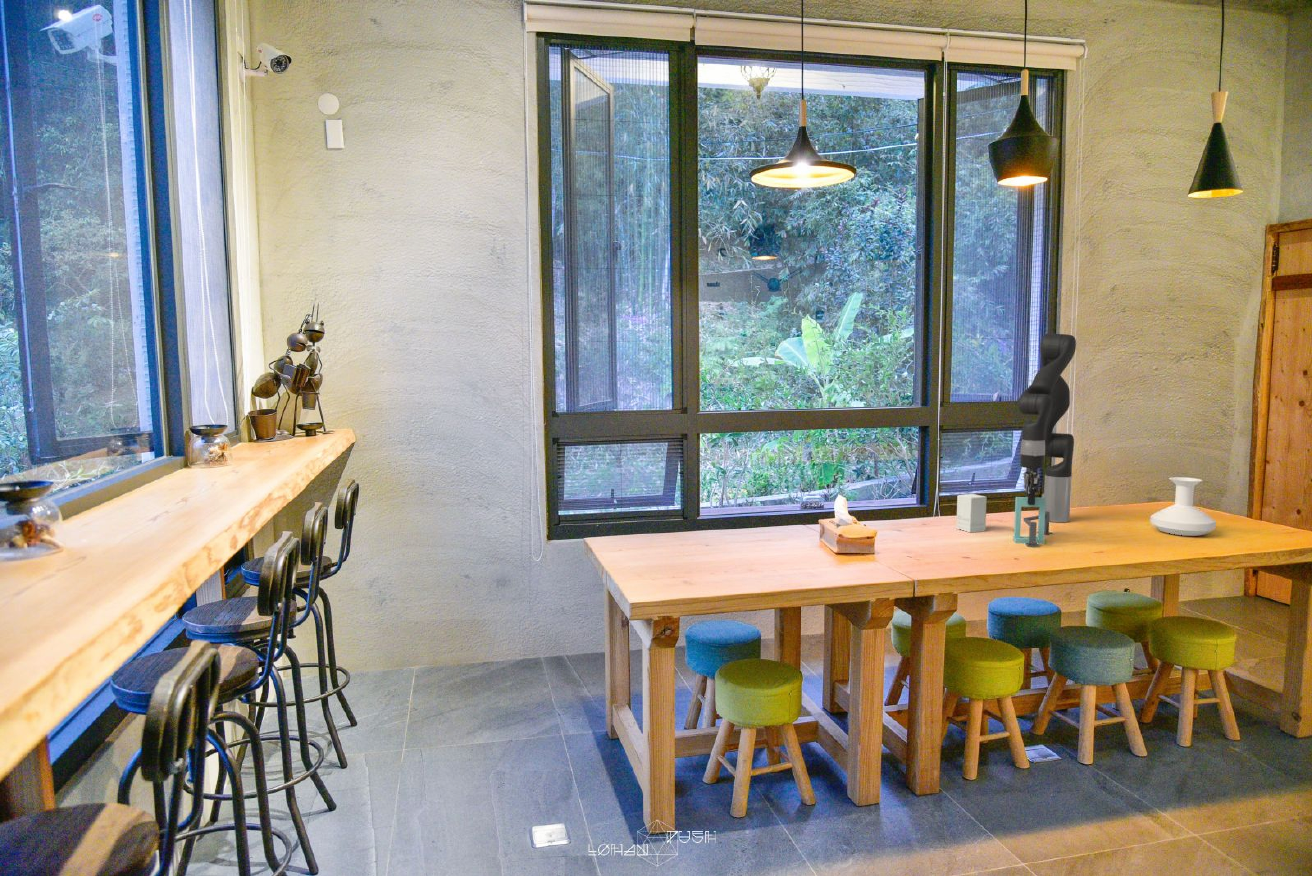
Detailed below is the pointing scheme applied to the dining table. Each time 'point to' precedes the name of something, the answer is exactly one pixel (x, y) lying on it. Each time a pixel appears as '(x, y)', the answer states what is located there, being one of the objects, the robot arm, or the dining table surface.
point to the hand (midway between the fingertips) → (1030, 503)
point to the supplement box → (971, 513)
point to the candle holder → (1183, 512)
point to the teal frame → (1018, 504)
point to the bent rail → (1033, 529)
